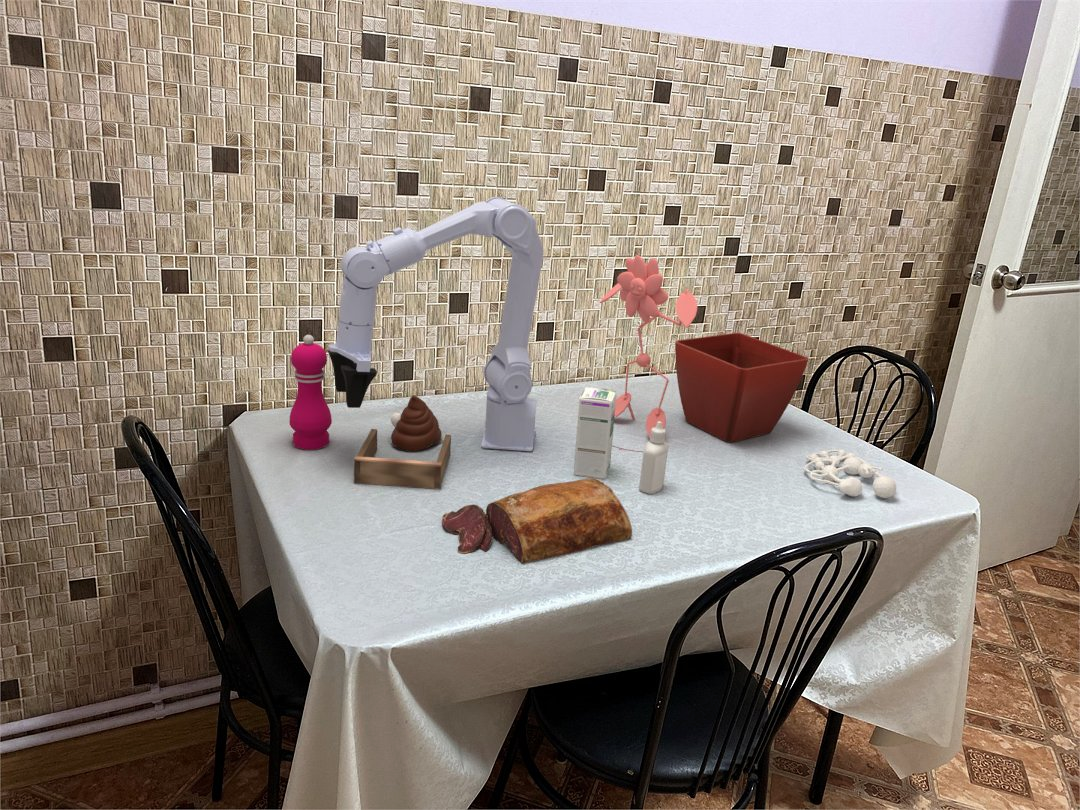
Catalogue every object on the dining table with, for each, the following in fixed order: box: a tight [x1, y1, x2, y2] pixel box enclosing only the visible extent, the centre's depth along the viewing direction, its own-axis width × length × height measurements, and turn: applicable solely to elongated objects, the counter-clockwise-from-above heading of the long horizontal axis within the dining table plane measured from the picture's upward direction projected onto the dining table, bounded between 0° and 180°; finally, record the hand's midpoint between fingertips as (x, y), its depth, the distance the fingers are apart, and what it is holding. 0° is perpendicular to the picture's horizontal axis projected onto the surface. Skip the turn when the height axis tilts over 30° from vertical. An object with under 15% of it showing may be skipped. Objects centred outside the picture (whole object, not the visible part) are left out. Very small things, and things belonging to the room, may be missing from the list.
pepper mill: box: [289, 334, 333, 451], centre depth 147 cm, size 7×7×20 cm
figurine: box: [599, 254, 698, 453], centre depth 159 cm, size 15×26×35 cm, turn 36°
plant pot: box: [674, 332, 809, 443], centre depth 169 cm, size 19×19×17 cm
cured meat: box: [441, 477, 633, 564], centre depth 125 cm, size 18×25×7 cm
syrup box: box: [573, 387, 617, 480], centre depth 145 cm, size 6×6×14 cm
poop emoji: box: [390, 395, 443, 452], centre depth 153 cm, size 10×8×9 cm
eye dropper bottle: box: [638, 421, 669, 495], centre depth 141 cm, size 4×6×12 cm
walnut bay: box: [353, 428, 452, 490], centre depth 143 cm, size 14×14×4 cm
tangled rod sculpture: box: [803, 449, 897, 499], centre depth 153 cm, size 19×14×4 cm
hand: (347, 399), depth 143 cm, fingers open, 7 cm apart
